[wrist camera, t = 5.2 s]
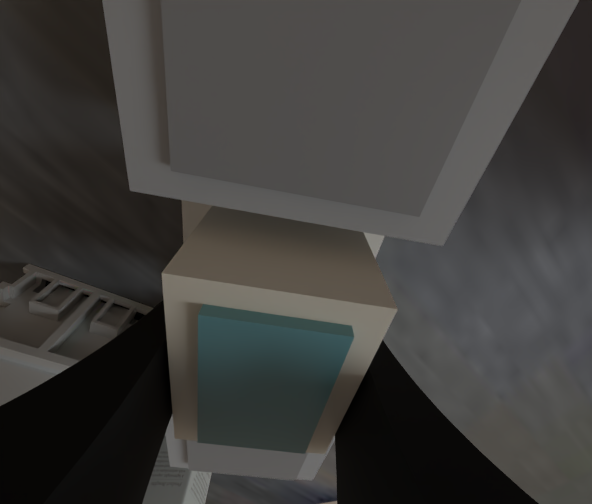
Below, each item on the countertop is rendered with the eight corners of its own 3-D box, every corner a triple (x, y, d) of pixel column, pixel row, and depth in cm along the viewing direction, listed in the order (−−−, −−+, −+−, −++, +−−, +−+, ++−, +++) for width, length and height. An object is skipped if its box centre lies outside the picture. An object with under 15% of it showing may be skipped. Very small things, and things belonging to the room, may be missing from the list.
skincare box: (157, 452, 27) (115, 562, 21) (138, 421, 24) (81, 540, 18) (217, 453, 27) (193, 564, 21) (206, 422, 24) (172, 542, 18)
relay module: (349, 201, 10) (402, 320, 5) (315, 315, 14) (325, 466, 8) (231, 179, 10) (153, 282, 5) (223, 301, 13) (170, 450, 8)
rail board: (461, 9, 9) (749, -117, 3) (321, 370, 20) (329, 493, 14) (186, -62, 8) (-84, -391, 2) (194, 353, 19) (146, 476, 13)
